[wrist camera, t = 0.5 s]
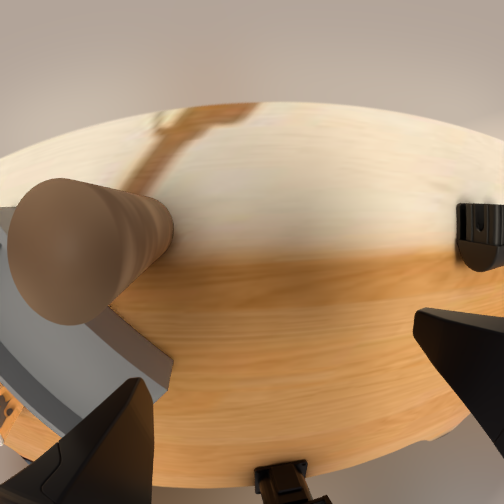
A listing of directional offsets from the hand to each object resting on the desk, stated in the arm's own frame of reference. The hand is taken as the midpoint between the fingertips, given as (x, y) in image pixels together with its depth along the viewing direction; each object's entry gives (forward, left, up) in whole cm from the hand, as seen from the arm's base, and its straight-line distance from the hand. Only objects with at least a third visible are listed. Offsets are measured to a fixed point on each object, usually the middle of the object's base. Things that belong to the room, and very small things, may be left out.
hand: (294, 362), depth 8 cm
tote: (-6, +18, -14) cm, 24 cm away
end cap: (+2, -29, -15) cm, 32 cm away
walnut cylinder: (+3, +7, -14) cm, 17 cm away
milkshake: (-14, +27, -15) cm, 34 cm away
